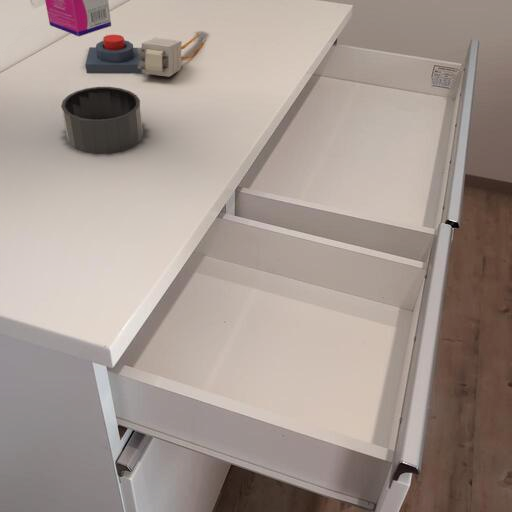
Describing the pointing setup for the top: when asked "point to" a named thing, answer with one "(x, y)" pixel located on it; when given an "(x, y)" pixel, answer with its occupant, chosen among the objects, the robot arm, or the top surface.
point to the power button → (114, 42)
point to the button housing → (113, 59)
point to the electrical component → (162, 56)
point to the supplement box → (78, 15)
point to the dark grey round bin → (102, 119)
